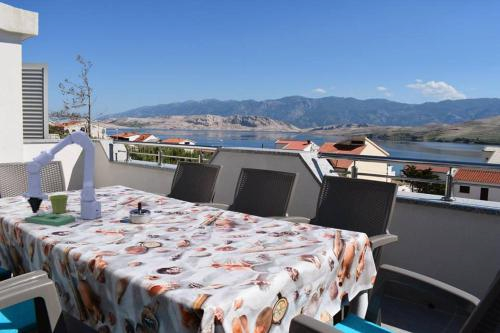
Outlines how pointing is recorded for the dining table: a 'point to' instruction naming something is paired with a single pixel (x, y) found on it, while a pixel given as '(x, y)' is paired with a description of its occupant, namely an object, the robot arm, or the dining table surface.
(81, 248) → the dining table surface
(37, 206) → the robot arm
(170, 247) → the dining table surface
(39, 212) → the ball
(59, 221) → the putting mat
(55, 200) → the plant pot
